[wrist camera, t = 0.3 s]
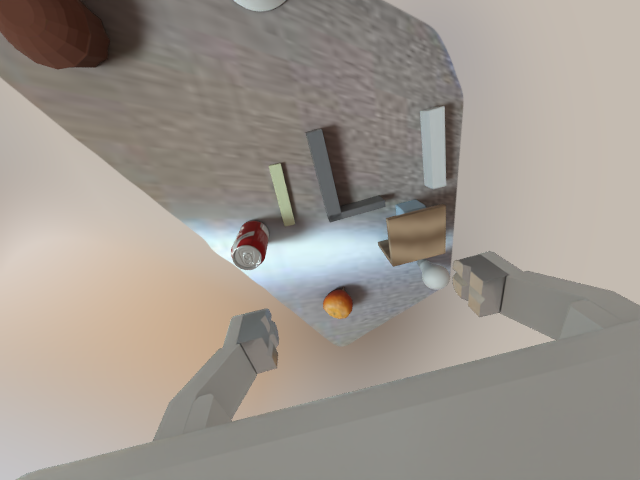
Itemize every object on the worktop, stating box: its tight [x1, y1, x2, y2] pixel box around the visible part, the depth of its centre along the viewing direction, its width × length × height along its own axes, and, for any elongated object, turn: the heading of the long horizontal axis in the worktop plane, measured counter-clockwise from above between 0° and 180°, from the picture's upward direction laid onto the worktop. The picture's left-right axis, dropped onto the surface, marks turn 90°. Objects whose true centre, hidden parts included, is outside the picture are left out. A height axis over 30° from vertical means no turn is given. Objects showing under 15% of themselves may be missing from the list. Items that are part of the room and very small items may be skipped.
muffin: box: [0, 0, 110, 69], centre depth 35 cm, size 12×11×10 cm
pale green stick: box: [269, 163, 295, 226], centre depth 54 cm, size 14×2×2 cm, turn 10°
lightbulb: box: [417, 259, 450, 290], centre depth 62 cm, size 6×6×11 cm
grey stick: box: [420, 106, 446, 189], centre depth 52 cm, size 16×3×4 cm, turn 15°
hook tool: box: [306, 128, 385, 222], centre depth 52 cm, size 19×13×4 cm
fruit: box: [323, 287, 353, 319], centre depth 67 cm, size 8×8×8 cm
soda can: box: [231, 221, 269, 270], centre depth 53 cm, size 7×7×12 cm
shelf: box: [378, 204, 446, 267], centre depth 56 cm, size 12×12×10 cm
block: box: [396, 200, 426, 215], centre depth 58 cm, size 5×5×5 cm
